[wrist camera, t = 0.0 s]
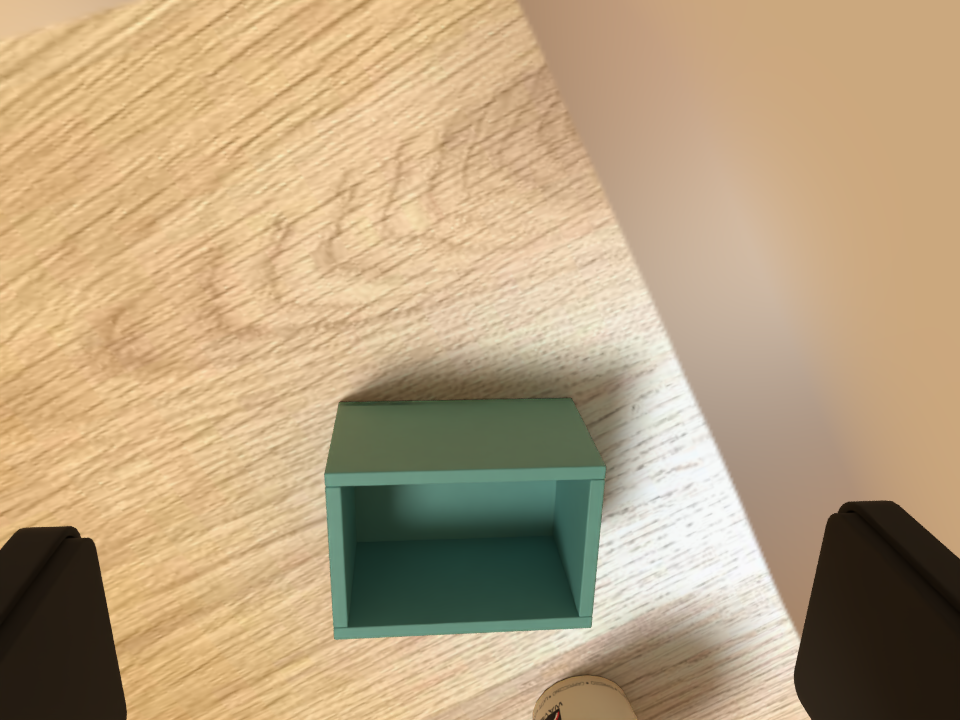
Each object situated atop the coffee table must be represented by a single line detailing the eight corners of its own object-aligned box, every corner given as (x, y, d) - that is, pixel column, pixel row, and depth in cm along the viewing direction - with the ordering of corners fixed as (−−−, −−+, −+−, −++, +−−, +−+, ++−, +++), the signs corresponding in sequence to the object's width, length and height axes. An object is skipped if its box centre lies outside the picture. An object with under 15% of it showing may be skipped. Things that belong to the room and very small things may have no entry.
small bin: (338, 401, 29) (324, 473, 23) (571, 397, 29) (606, 466, 24) (345, 545, 31) (333, 640, 26) (561, 538, 32) (591, 628, 27)
